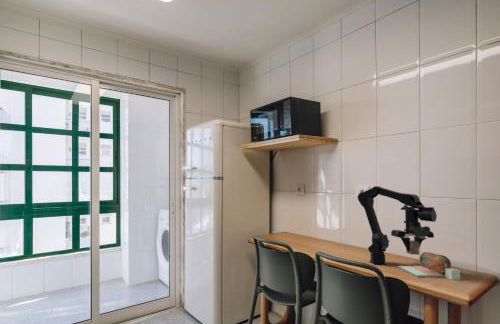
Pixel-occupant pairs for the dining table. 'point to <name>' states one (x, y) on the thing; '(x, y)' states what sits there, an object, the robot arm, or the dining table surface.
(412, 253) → the block
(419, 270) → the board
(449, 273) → the sage block
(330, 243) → the dining table surface
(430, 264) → the tin
